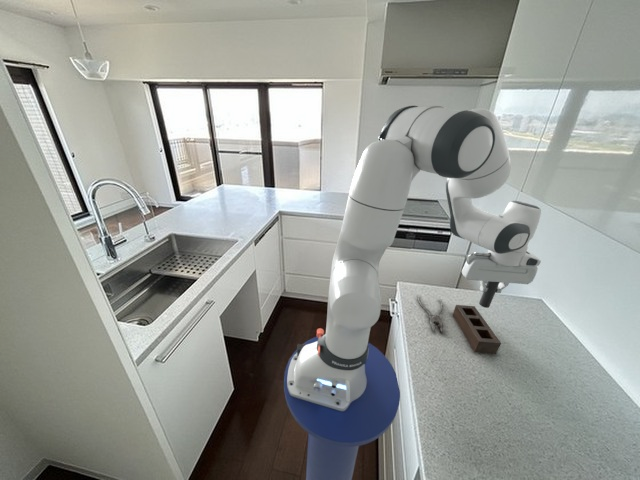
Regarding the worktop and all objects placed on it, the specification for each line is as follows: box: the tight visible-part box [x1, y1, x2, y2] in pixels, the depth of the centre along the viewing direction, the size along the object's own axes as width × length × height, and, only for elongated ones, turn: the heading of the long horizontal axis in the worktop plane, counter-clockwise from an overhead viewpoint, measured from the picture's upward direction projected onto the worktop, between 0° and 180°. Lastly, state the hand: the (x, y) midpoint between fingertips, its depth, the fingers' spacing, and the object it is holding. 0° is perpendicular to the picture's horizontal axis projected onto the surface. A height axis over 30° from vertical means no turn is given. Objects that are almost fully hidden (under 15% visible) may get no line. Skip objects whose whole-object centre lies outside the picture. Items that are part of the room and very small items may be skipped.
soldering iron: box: [478, 281, 501, 309], centre depth 82 cm, size 3×3×15 cm
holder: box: [452, 304, 502, 355], centre depth 90 cm, size 7×18×5 cm, turn 176°
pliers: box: [417, 295, 444, 334], centre depth 99 cm, size 10×1×20 cm
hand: (489, 291), depth 83 cm, fingers closed on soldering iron, 3 cm apart
